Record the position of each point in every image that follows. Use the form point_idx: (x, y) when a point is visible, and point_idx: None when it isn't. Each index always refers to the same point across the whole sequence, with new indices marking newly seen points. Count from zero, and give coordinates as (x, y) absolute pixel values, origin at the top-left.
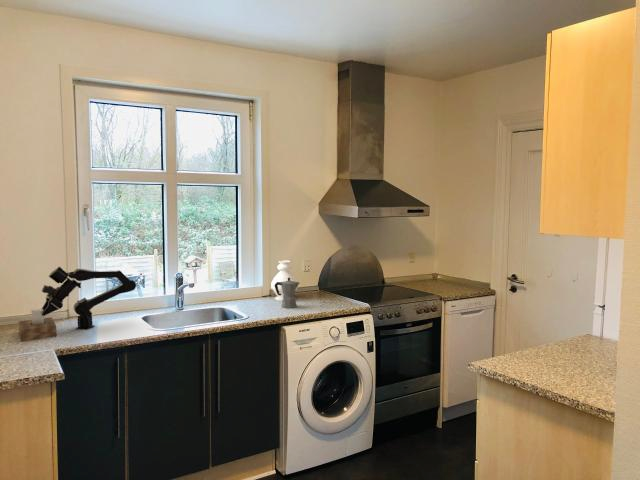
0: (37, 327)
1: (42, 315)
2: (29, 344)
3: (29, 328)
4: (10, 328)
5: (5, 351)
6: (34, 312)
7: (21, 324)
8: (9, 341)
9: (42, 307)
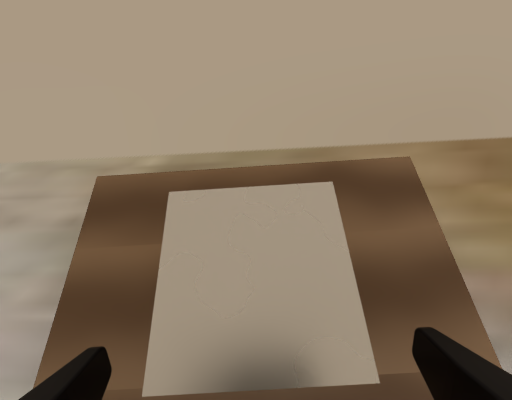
0: (75, 294)
1: (97, 357)
2: (33, 256)
3: (94, 232)
4: (483, 158)
5: (6, 163)
6: (169, 231)
7: (280, 178)
8: (181, 167)
9: (503, 384)
